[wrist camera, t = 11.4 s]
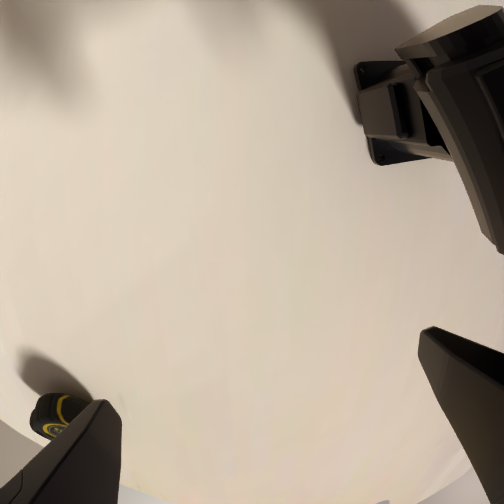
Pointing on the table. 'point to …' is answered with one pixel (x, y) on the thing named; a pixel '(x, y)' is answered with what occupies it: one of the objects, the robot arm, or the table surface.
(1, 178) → the table surface
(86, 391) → the table surface
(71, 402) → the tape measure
